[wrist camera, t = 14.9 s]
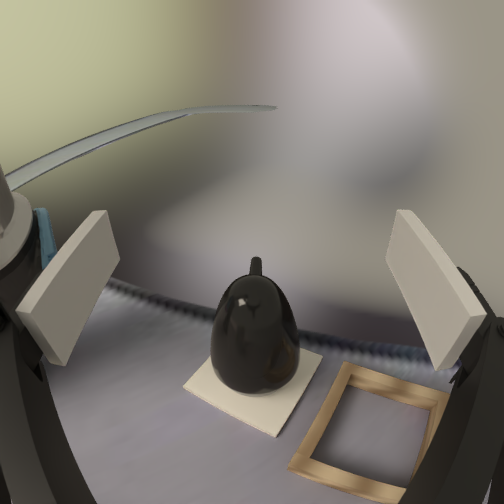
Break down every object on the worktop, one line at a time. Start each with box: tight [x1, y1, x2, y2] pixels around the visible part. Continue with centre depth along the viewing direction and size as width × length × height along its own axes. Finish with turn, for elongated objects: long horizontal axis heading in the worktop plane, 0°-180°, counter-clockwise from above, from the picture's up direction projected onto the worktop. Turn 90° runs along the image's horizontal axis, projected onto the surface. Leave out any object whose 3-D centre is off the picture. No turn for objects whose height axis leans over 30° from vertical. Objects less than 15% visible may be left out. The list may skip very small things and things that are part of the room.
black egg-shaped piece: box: [210, 257, 300, 397], centre depth 32 cm, size 10×10×15 cm
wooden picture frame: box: [287, 361, 450, 504], centre depth 27 cm, size 15×15×2 cm
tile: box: [183, 348, 323, 438], centre depth 36 cm, size 13×13×1 cm
